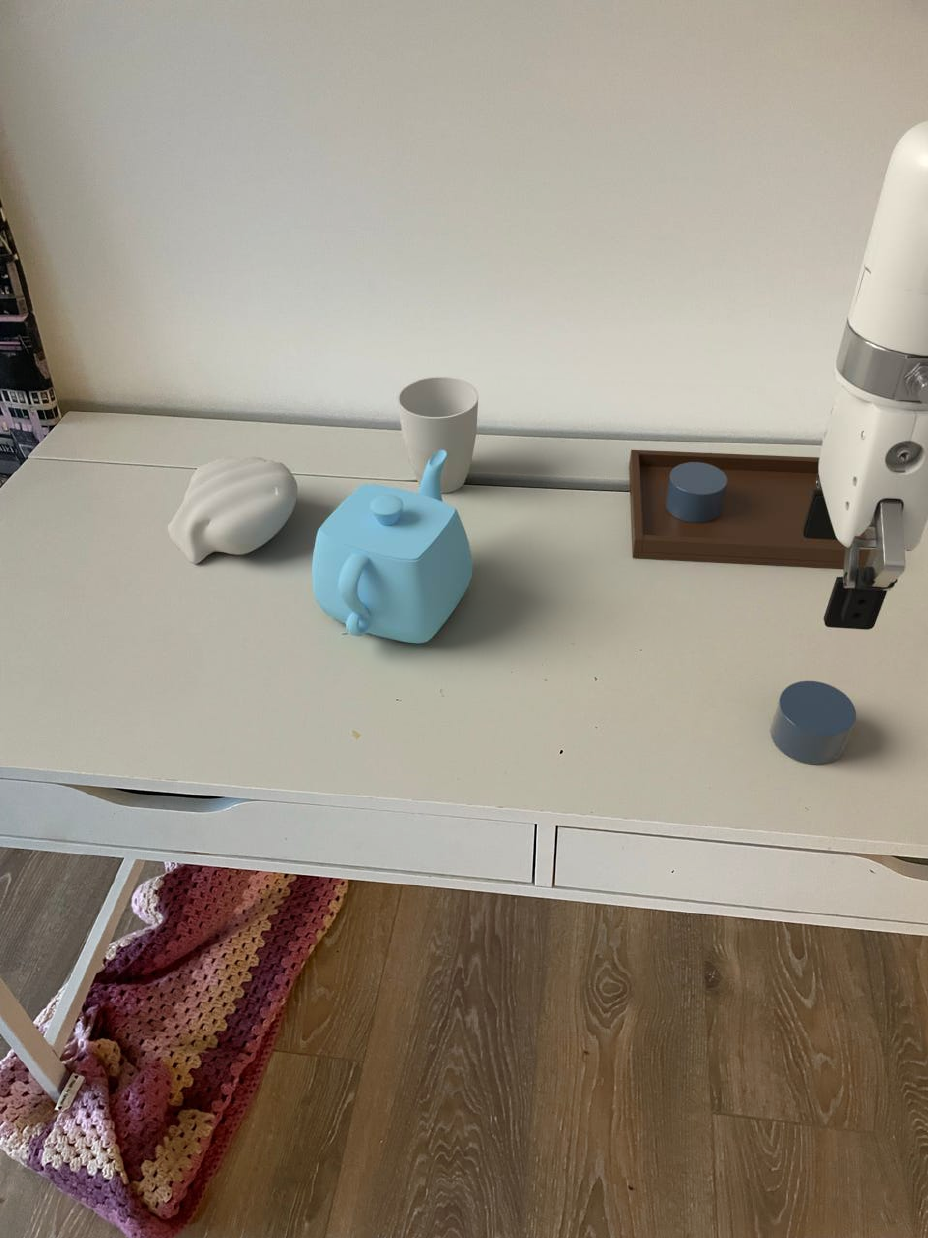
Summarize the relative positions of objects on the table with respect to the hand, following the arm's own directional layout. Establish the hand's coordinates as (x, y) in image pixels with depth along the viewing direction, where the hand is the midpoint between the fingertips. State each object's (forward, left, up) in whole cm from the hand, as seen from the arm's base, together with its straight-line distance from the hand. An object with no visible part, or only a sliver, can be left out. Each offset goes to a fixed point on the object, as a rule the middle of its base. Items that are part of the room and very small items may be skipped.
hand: (834, 578), depth 67 cm
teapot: (+35, +3, -14) cm, 38 cm away
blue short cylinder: (+16, -22, -13) cm, 30 cm away
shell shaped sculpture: (+55, +2, -14) cm, 57 cm away
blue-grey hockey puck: (-2, +3, -14) cm, 14 cm away
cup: (+41, -15, -14) cm, 46 cm away
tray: (+11, -23, -14) cm, 29 cm away
